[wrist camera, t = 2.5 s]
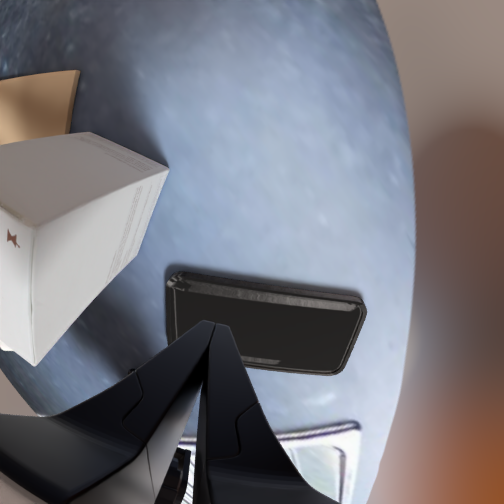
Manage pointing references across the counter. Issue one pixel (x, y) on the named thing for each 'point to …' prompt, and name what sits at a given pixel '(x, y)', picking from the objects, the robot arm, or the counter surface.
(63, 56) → the counter surface
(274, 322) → the phone
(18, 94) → the wooden cutting board
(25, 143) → the supplement box
